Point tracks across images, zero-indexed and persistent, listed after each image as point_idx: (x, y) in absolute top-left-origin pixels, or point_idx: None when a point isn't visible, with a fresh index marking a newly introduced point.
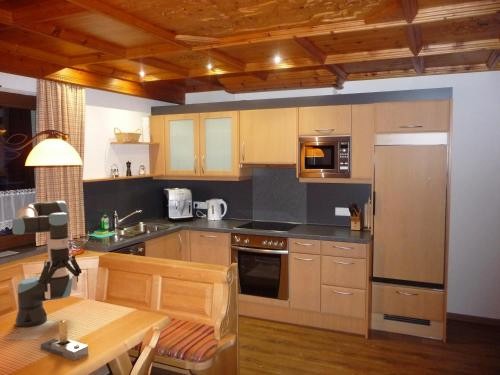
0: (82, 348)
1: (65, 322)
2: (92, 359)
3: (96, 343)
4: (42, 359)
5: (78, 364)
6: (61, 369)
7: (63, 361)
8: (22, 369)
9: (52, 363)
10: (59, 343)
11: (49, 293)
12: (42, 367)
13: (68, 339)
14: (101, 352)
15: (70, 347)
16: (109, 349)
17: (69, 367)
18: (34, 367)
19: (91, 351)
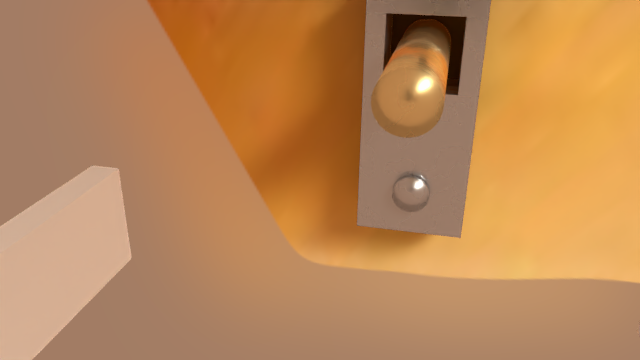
0: (416, 231)
1: (408, 136)
2: (426, 267)
3: (620, 142)
4: (291, 3)
5: (351, 240)
6: (274, 201)
7: (336, 143)
8: (163, 8)
9: (290, 105)
10: (416, 12)
11: (66, 309)
12: (235, 93)
13: (483, 36)
14: (516, 257)
15: (390, 157)
16: (568, 274)
17: (308, 222)
18: (211, 51)
19: (503, 196)
